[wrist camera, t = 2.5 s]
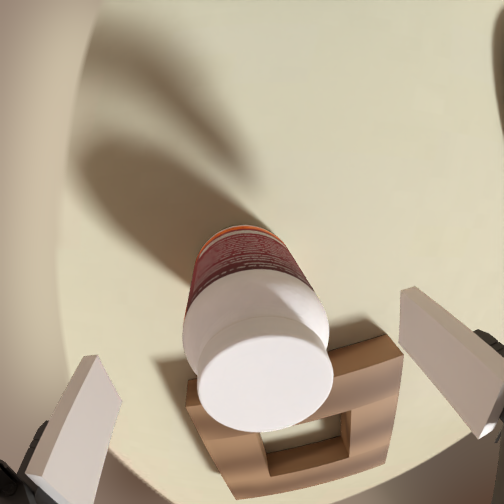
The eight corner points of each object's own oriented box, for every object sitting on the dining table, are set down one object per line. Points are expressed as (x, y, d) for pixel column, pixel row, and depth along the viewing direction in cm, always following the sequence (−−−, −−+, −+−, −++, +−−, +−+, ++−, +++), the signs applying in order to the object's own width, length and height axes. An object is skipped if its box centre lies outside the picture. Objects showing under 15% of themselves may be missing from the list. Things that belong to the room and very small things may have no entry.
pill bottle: (175, 260, 20) (133, 374, 9) (255, 202, 19) (297, 269, 8) (233, 328, 21) (245, 460, 11) (308, 279, 21) (378, 390, 10)
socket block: (188, 379, 23) (185, 406, 20) (386, 334, 23) (403, 354, 20) (234, 478, 28) (236, 499, 25) (375, 444, 28) (384, 463, 25)
